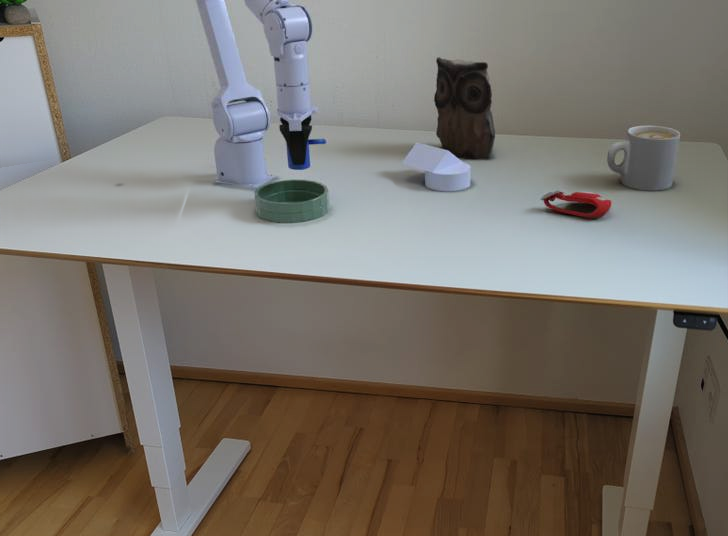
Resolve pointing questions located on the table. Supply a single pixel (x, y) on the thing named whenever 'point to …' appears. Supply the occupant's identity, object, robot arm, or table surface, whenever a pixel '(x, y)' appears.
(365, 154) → the table surface
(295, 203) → the green plant saucer
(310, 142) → the scoop
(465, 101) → the owl
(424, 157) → the wedge on round base
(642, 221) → the table surface
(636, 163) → the coffee mug
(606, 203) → the tracker holder
